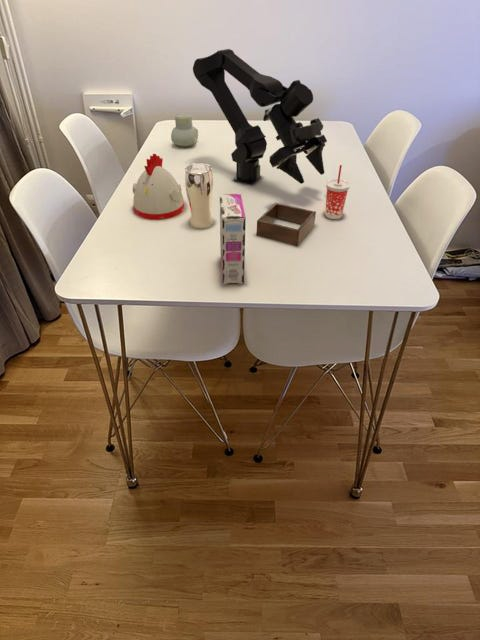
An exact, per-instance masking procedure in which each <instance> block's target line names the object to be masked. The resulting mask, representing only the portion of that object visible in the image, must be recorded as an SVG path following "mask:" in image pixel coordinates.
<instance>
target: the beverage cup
mask: <svg viewBox="0 0 480 640" xmlns="http://www.w3.org/2000/svg"><path fill="white" fill-rule="evenodd" d="M342 167H343V165H342V164H339V167H338V168H339V169H338V175H337V178H335V179H334V178H333V179H329V180H327V181H326V184H325V187H326V196H325V209H324V216H325V217H326V218H328V219H330V220H339V219H341V218H342V217H343V213H344V208H345V204H346V199H347V196H348V191H349V190H350V187H351V184H350V182H349V181H346V180H344V179H341V173H342Z"/></svg>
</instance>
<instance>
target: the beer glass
mask: <svg viewBox="0 0 480 640" xmlns="http://www.w3.org/2000/svg"><path fill="white" fill-rule="evenodd" d="M213 177H214V176H213V168H212V166H211V165H210V164H208V163H204V162H197V163H190V164H188V165H186V166H185V168H184V183H185V185H184V186H185V192H186V197H187V201H188V204H189V208H190V209H189V210H190V220H189V224H190V226H191V227H192V228H194V229H201V230H202V229H207V228H209V227H211V226H213V223H214V220H213V216H212V202H213V195H214V178H213Z"/></svg>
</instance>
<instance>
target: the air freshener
mask: <svg viewBox="0 0 480 640" xmlns="http://www.w3.org/2000/svg"><path fill="white" fill-rule="evenodd" d="M174 120H175V122H174V123H175V127H173V128H172V130H171V133H170V140H171V142H172V144H175V145H176V146H178V147H191V146H193V145H196V144H197V142H198V139H199V130H198V129H197V128H196V127H195V126H193V116H192V114H191V113H188V112H180V113H176V114H175V116H174Z"/></svg>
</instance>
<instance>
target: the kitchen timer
mask: <svg viewBox="0 0 480 640" xmlns="http://www.w3.org/2000/svg"><path fill="white" fill-rule="evenodd" d="M163 161H164V159H163V157H161V156H160V155H158V154H157V153H152V155H150V156H149V158H146V165H144V170H143V171H142V172H141V174H140V175H139V177H138V178H137V181H136V182H133V184H132V193H133V199H132V201H133V202H132V203H133V210H134V213H135V215H137V216H138V217H140V218H143V219H145V220H150V221H151V220H152V221H160V220H167V219H171V218H174V217H176V216H179V215H180V214H182V213H183V211H184V210H185V199H184V195H183V192H182V185H181V184H180V183H178V181H177V180H176V178H175V177H174V175H172V173H171V172H169V171H168V169H166V168H165V167H163V163H164V162H163Z"/></svg>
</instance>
